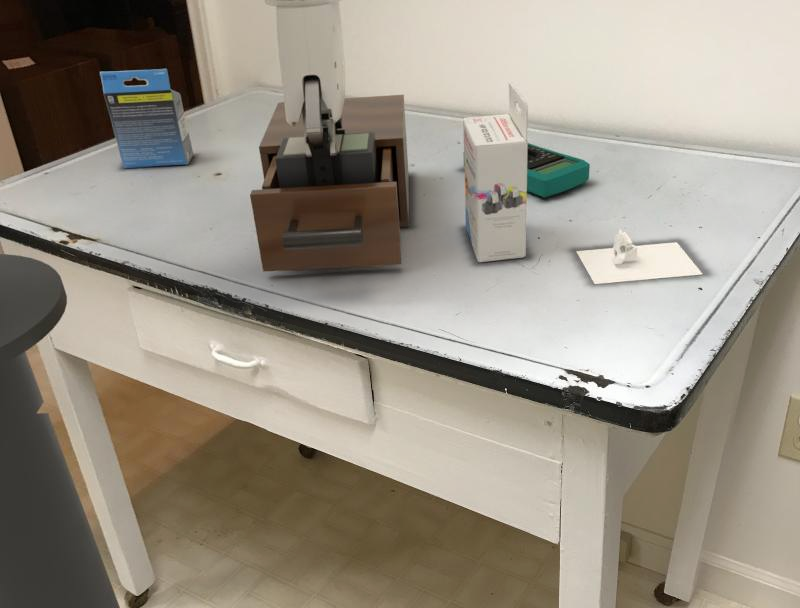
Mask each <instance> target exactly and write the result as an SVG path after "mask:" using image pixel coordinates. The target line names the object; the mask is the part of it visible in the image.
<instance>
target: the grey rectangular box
mask: <svg viewBox="0 0 800 608" xmlns="http://www.w3.org/2000/svg"><path fill="white" fill-rule="evenodd" d="M328 140H329V138H328ZM336 148H337V153H340V157H341V166H342V175H343V184H344V185H347V184H364V183H377V182H378V170H377V158H376V146H375V135H374V132H369V133H354V134H338V135H336ZM305 155H306V152H305V140H304V137H292V138H283V140H282V143H281V145H280V148H279V151H278V153H277V156H276V159H275V160H276V167H277V173H278V180H279V186H280V188H296V187H309V184H308V176H307V169H306V161H305Z"/></svg>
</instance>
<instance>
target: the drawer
mask: <svg viewBox="0 0 800 608" xmlns="http://www.w3.org/2000/svg"><path fill="white" fill-rule="evenodd" d="M276 156H277V153H275V154H274V156H273V159H272V162H271V164H270V167H269V169H268V172H267V175H266V177H265V180H264V179H263V183H262V185H261V188H262V189H251V191H250V194H249V197H250V203H251V208H252V215H253V220H254V227H255V232H256V238H257V244H258V249H259V256H260V262H261V267H262V272H264V273H266V272H282V271H283V272H285V271H286V272H287V271H300V270H302V271H303V270H321V269H338V268H340V269H341V268H355V267H359V268H360V267H374V266H392V265H402V264H403V261H402V260H403V254H402V242H401V227H400V225H399V210H398V196H397V182H395V181H394V166H393V152H392V146H387V147H376V158H377V170H378V182H377V183H364V184H347V185H330V186H313V187H296V188H280V186H279V180H278V173H277V167H276V160H275V159H276Z"/></svg>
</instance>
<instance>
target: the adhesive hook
mask: <svg viewBox="0 0 800 608" xmlns="http://www.w3.org/2000/svg"><path fill="white" fill-rule="evenodd" d="M637 246H638V245H635V244H633V240H632V239H631V238H630V236H629V235H628V233H627V232H626V231H622V229H621V228H619V229H618V232H617V233H616V235H615V236H614V240H613V246H612V247H611V248H612V250H613V264H614V265H622V264H623V263H625V262H636V261H637V260H638V247H637Z"/></svg>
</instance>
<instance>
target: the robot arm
mask: <svg viewBox="0 0 800 608" xmlns="http://www.w3.org/2000/svg"><path fill="white" fill-rule="evenodd" d="M341 1H342V0H264V3H265V4H266V5H267V6H271V7H275V8H276V9H275V10H276V11H275V12H276V13H275V14H276V33H277V34H276V35H277V47H278V56H279V67H280V75H281V85H282V94H283V102H284V105H285V114H286V121H287V123H288V124H290V125H291V126H295V124H296V122H299V119H300V117H301V114H302V115H303V128H304V140H305V152H306V155H305V161H306V169H307V176H308V184H309V187H313V186H330V185H344V184H343V175H342V166H341V157H340V153H337V148H336V135H338V134H345V130H337V129H342V116H341V114H342V110H343V106H344V100H345V98H346V70H345V69H346V67H345V54H344V52H345V51H344V42H343V41H344V40H343V39H344V38H343V30H342V29H343V28H342V19H341V10H340V2H341ZM328 138H329V140H328Z"/></svg>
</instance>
